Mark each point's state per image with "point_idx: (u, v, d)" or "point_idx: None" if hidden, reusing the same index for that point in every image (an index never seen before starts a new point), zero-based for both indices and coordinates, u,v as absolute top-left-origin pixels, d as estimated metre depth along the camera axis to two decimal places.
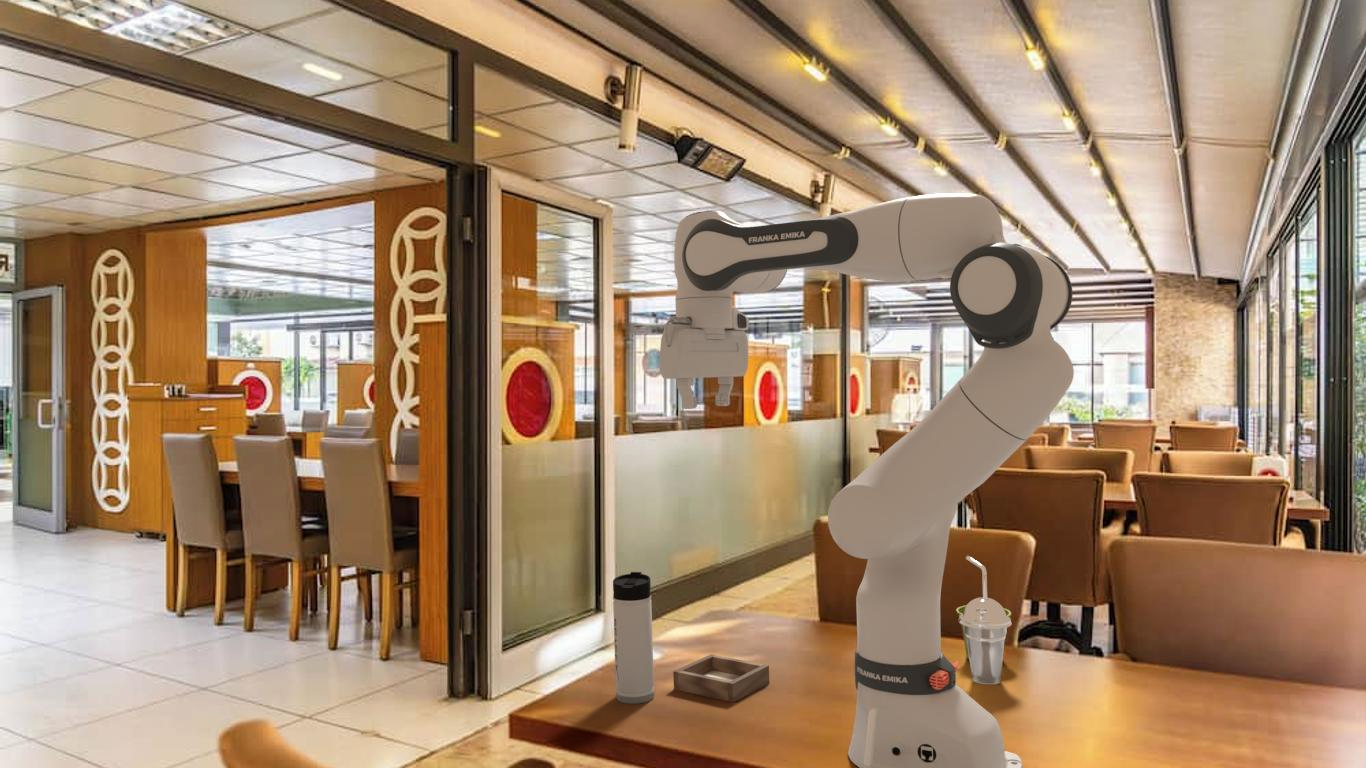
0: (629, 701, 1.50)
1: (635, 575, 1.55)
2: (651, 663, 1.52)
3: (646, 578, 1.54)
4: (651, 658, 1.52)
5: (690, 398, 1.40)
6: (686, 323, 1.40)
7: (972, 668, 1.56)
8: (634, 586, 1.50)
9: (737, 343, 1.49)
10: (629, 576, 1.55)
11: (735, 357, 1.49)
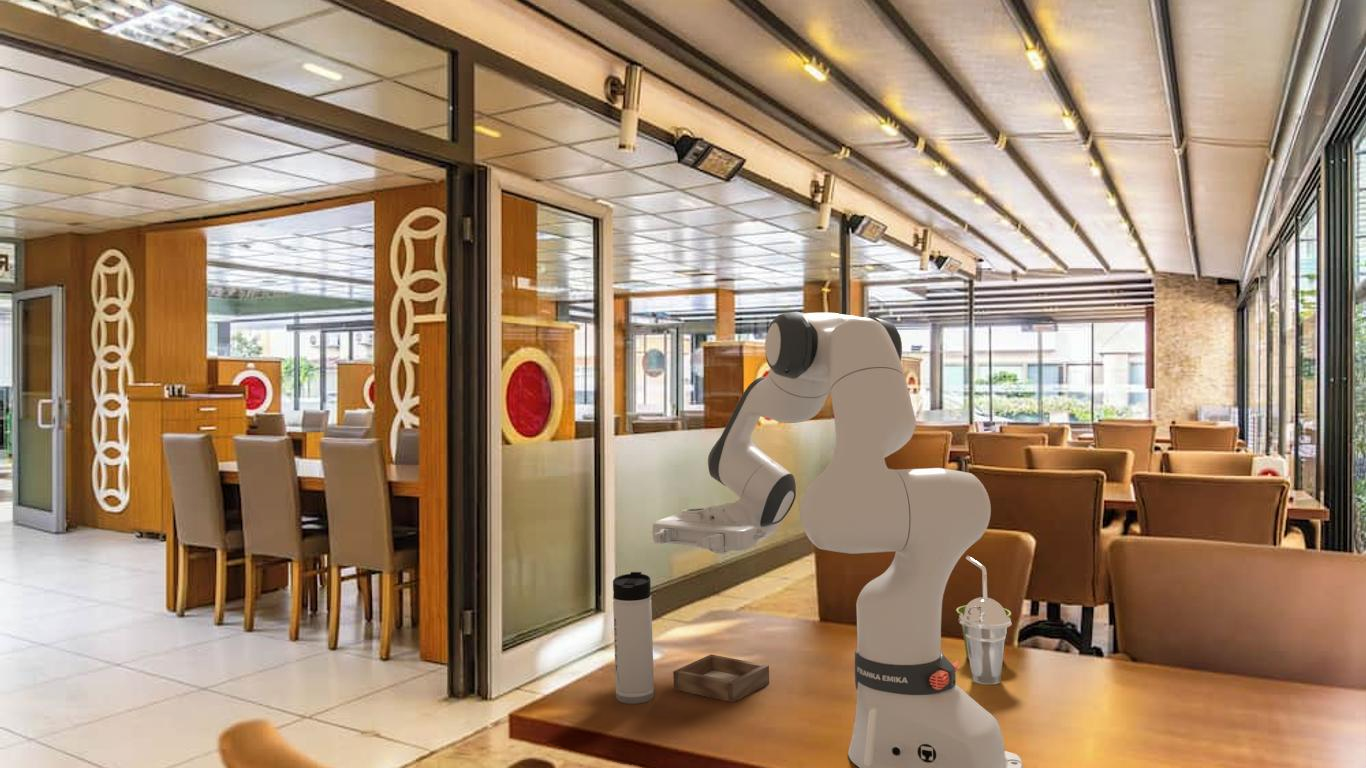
0: (629, 701, 1.50)
1: (635, 575, 1.55)
2: (651, 663, 1.52)
3: (646, 578, 1.54)
4: (651, 658, 1.52)
5: (709, 546, 1.61)
6: None
7: (972, 668, 1.56)
8: (634, 586, 1.50)
9: None
10: (629, 576, 1.55)
11: None
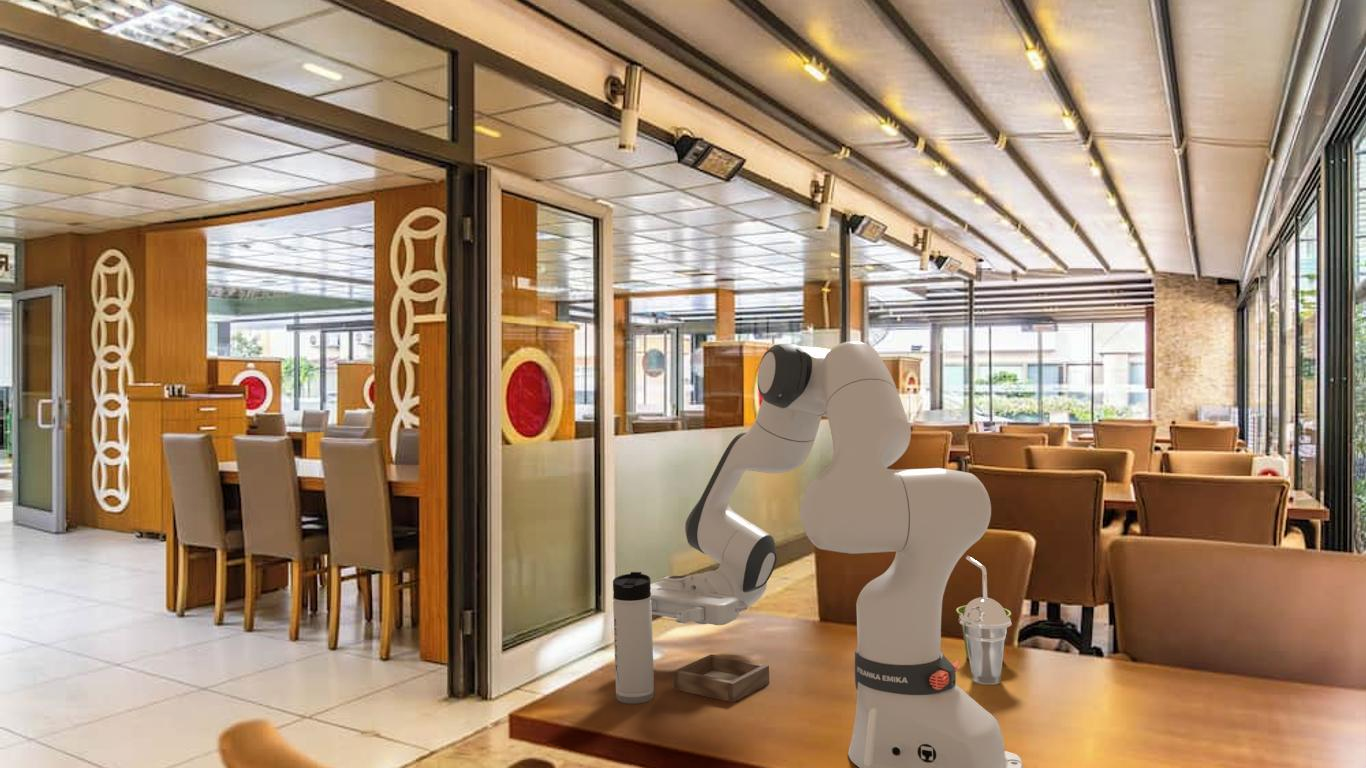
0: (629, 701, 1.50)
1: (635, 575, 1.55)
2: (651, 663, 1.52)
3: (646, 578, 1.54)
4: (651, 658, 1.52)
5: (688, 620, 1.57)
6: None
7: (972, 668, 1.56)
8: (634, 586, 1.50)
9: None
10: (629, 576, 1.55)
11: None
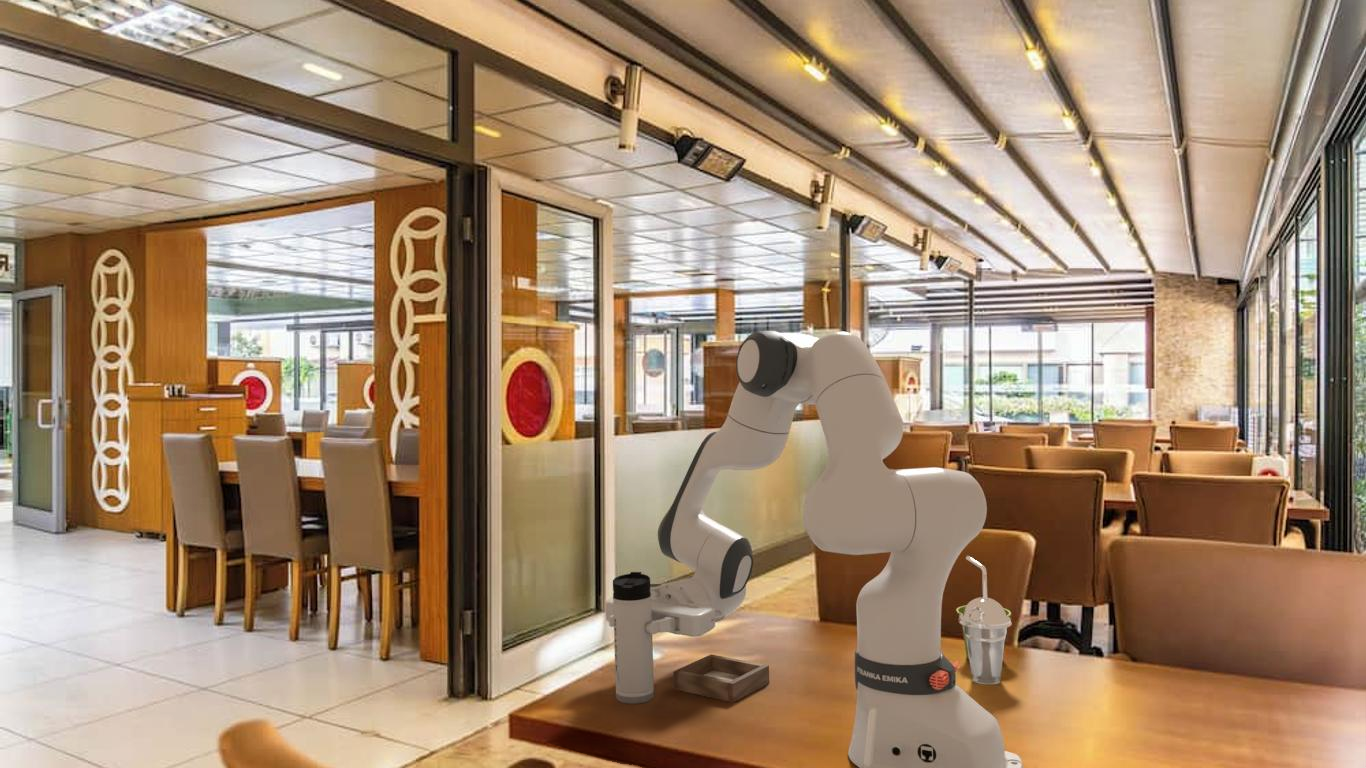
0: (629, 701, 1.50)
1: (635, 575, 1.55)
2: (651, 663, 1.52)
3: (646, 578, 1.54)
4: (651, 658, 1.52)
5: (658, 631, 1.51)
6: None
7: (972, 668, 1.56)
8: (634, 586, 1.50)
9: None
10: (629, 576, 1.55)
11: None
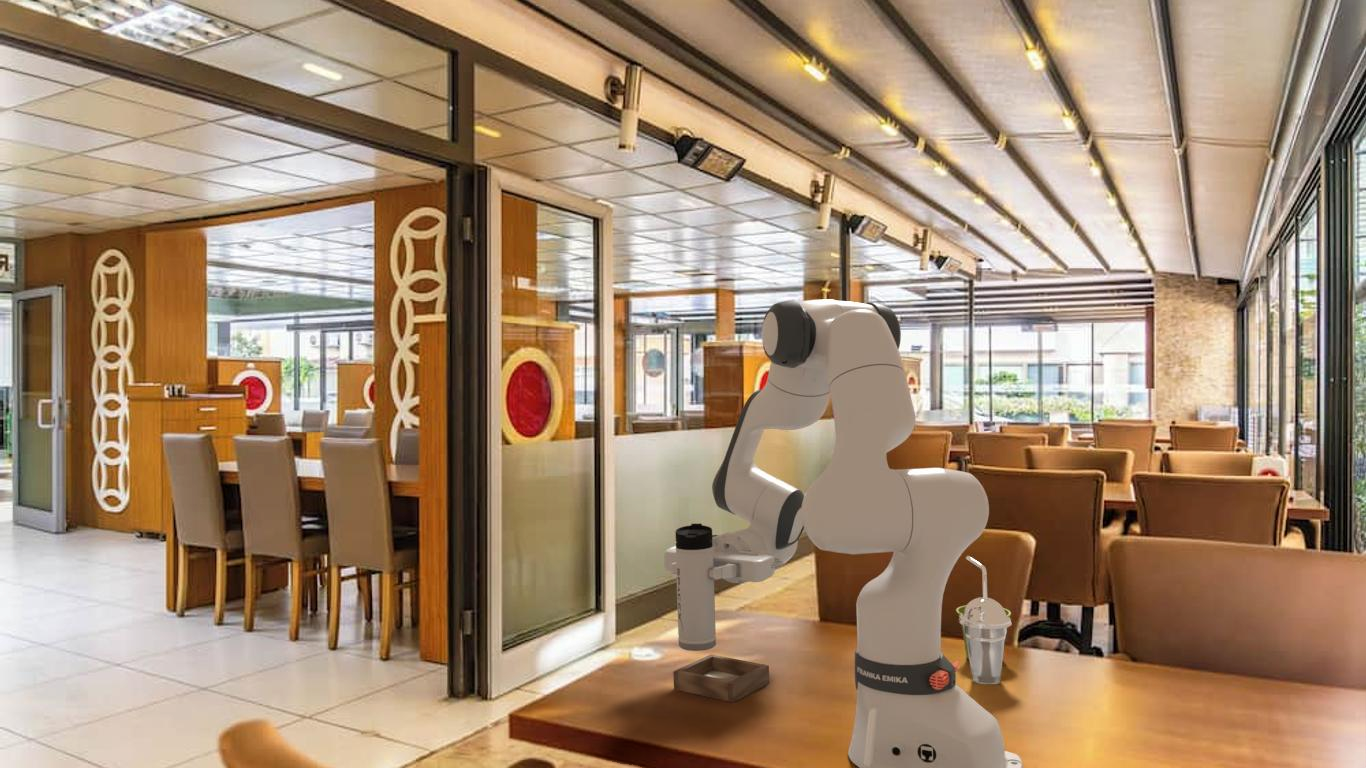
0: (693, 648, 1.53)
1: (696, 526, 1.58)
2: (713, 611, 1.55)
3: (707, 529, 1.57)
4: (713, 606, 1.55)
5: (720, 577, 1.54)
6: None
7: (972, 668, 1.56)
8: (698, 536, 1.53)
9: None
10: (690, 527, 1.58)
11: None
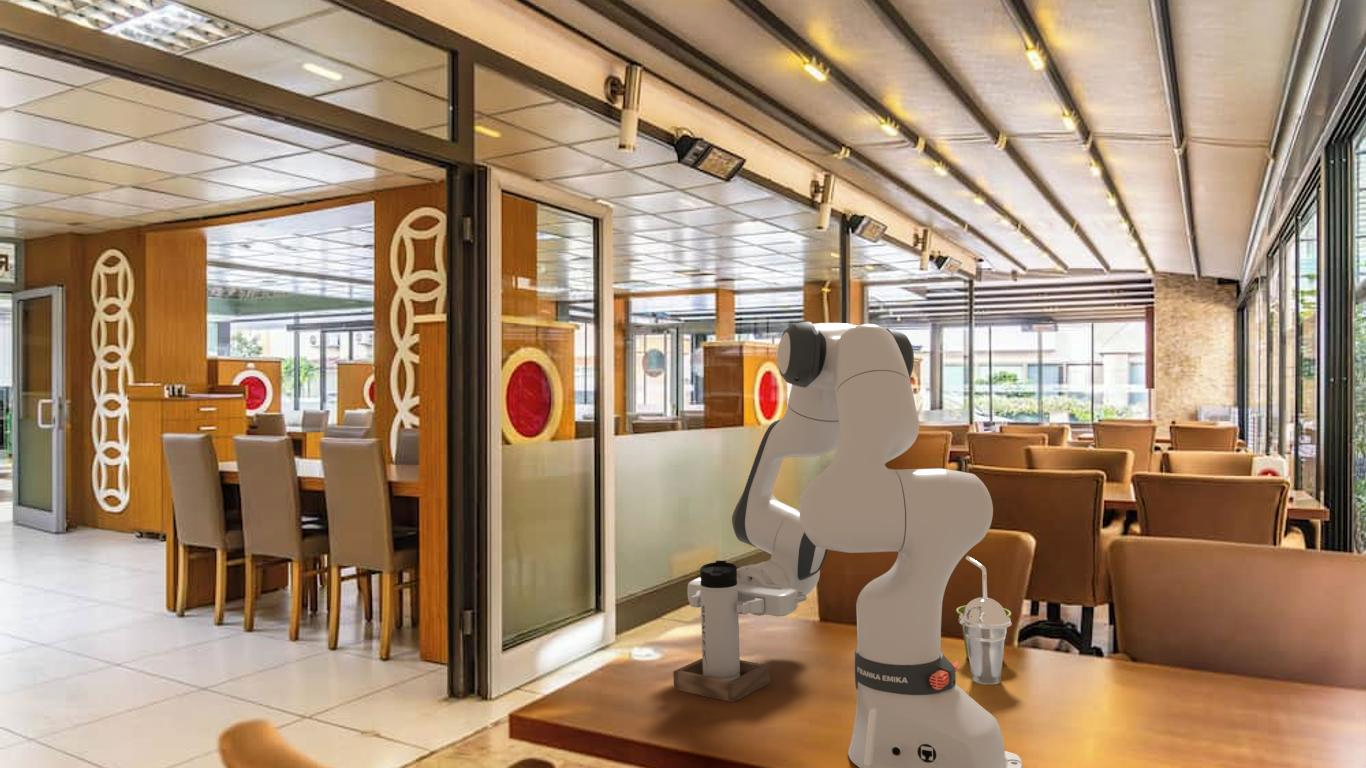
0: None
1: (720, 563, 1.59)
2: (738, 649, 1.56)
3: (732, 566, 1.58)
4: (738, 644, 1.56)
5: (749, 612, 1.54)
6: None
7: (972, 668, 1.56)
8: (723, 574, 1.54)
9: None
10: (714, 564, 1.59)
11: None
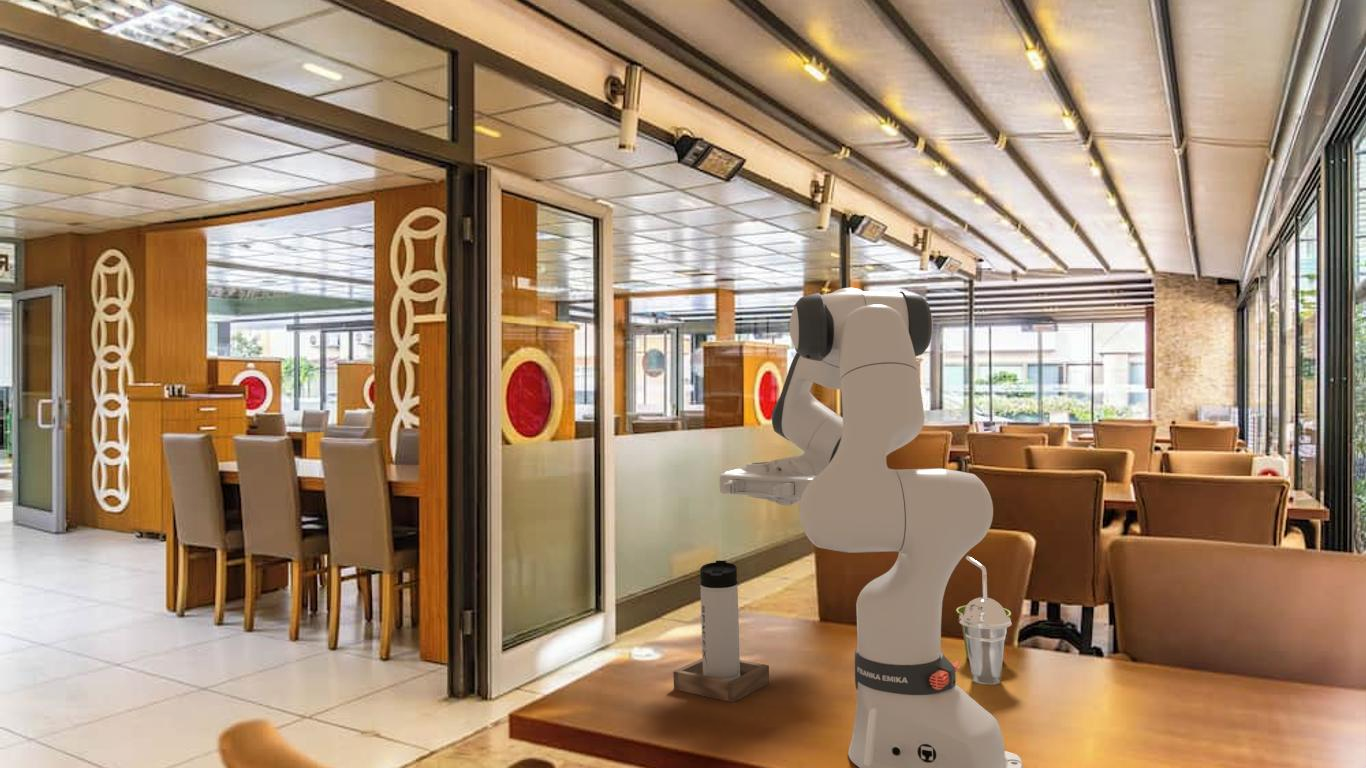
0: None
1: (720, 563, 1.59)
2: (738, 649, 1.56)
3: (732, 566, 1.58)
4: (738, 644, 1.56)
5: (780, 494, 1.63)
6: None
7: (972, 668, 1.56)
8: (723, 574, 1.54)
9: None
10: (714, 564, 1.59)
11: None
